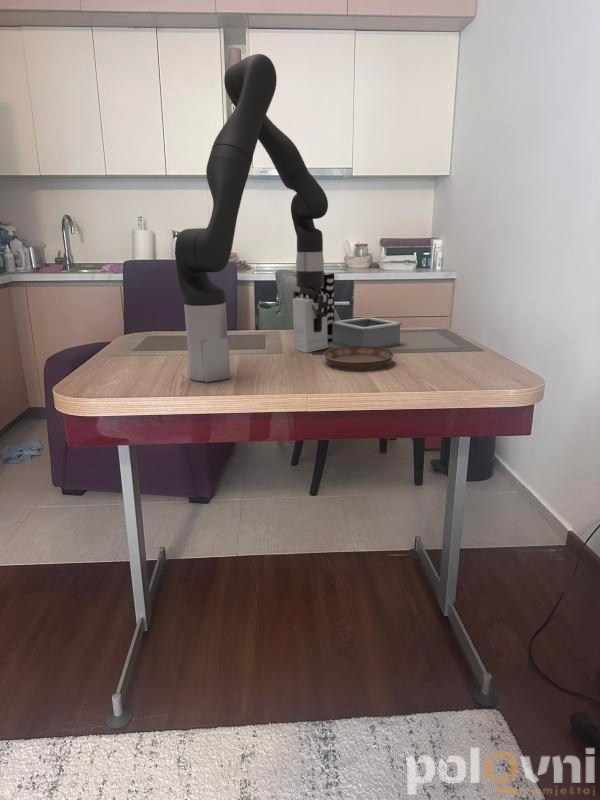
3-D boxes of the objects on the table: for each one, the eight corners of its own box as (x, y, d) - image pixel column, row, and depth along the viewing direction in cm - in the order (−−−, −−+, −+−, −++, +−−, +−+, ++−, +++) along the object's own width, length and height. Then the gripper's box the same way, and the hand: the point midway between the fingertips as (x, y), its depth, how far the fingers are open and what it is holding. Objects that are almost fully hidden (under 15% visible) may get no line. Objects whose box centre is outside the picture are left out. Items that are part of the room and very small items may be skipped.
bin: (401, 345, 157) (401, 322, 155) (362, 351, 149) (363, 328, 147) (368, 337, 168) (368, 316, 166) (331, 343, 161) (331, 321, 159)
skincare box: (315, 345, 158) (314, 294, 153) (328, 348, 153) (328, 296, 149) (292, 350, 152) (291, 297, 148) (306, 353, 148) (305, 299, 144)
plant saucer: (345, 376, 125) (345, 364, 124) (311, 361, 140) (311, 350, 139) (407, 367, 132) (408, 355, 131) (369, 354, 147) (369, 343, 146)
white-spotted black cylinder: (334, 342, 162) (335, 274, 156) (307, 342, 162) (306, 275, 156) (333, 337, 170) (333, 272, 164) (307, 337, 170) (306, 273, 164)
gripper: (337, 269, 142) (336, 332, 147) (306, 267, 154) (307, 325, 159) (314, 271, 138) (314, 335, 143) (284, 268, 150) (285, 328, 155)
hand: (310, 329), depth 151 cm, fingers closed on skincare box, 6 cm apart
